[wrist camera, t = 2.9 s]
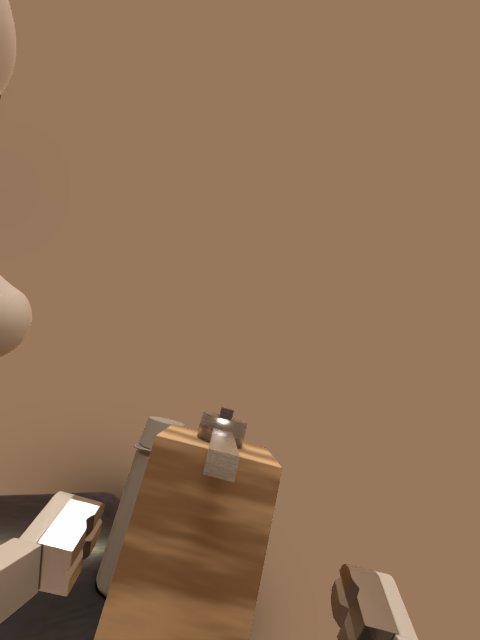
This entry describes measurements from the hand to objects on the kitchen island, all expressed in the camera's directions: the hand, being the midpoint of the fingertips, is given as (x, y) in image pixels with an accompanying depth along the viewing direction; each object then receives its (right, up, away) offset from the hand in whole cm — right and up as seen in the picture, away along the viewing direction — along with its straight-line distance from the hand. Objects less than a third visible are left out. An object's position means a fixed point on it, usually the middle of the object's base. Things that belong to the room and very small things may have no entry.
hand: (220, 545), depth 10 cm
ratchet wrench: (-2, -7, +22) cm, 23 cm away
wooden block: (-8, -32, +21) cm, 39 cm away
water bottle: (-19, -34, +36) cm, 53 cm away
